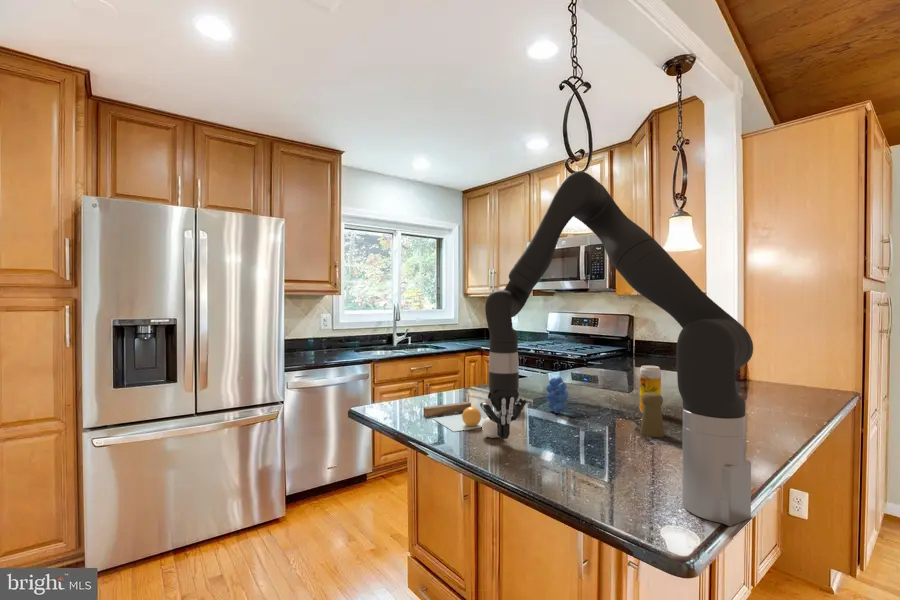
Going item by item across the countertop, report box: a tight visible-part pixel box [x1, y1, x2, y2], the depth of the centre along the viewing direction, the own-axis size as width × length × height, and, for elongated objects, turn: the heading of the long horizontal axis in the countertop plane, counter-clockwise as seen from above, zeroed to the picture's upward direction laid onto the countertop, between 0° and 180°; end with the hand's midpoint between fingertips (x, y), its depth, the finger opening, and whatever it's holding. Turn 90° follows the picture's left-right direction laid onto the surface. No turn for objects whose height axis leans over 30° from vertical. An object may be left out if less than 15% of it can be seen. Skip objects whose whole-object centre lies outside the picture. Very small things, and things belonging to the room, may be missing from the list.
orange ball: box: [461, 406, 482, 427], centre depth 121 cm, size 6×6×6 cm
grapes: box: [545, 376, 569, 414], centre depth 135 cm, size 12×7×12 cm, turn 14°
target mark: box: [432, 413, 486, 433], centre depth 125 cm, size 14×14×1 cm
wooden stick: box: [422, 401, 472, 418], centre depth 135 cm, size 2×16×2 cm, turn 116°
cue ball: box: [481, 416, 499, 439], centre depth 111 cm, size 6×6×6 cm
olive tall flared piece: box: [639, 393, 665, 438], centre depth 115 cm, size 6×6×11 cm
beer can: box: [639, 364, 662, 415], centre depth 135 cm, size 6×6×15 cm
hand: (503, 438), depth 106 cm, fingers closed
